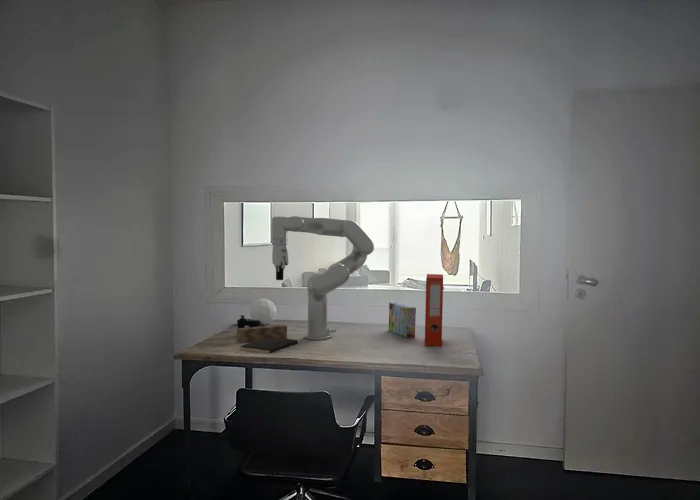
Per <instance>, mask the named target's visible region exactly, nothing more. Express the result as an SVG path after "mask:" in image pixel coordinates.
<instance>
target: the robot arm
mask: <svg viewBox="0 0 700 500" xmlns="http://www.w3.org/2000/svg"><path fill="white" fill-rule="evenodd" d="M288 232H293V233H294V232H296V233H297V232H298V233H299V232H300V233H306V234H307V233H309V234H314V235H318V236H326V237H327V236H328V237H329V236H330V237H338V238H339V237H340V238H347V240H348V241H349V242H350V243H351V244H352V251H351V253H349V255H347V256H346V257H343V258H342V259H340V260H338V261H337V262H335V263H333V264H331V265H330V266H329V267H328V268H327V270H326V271H325V272H323V273H314V274H312V275H310V276H309V278H308V279H307V285H306V290H307V333H306V334H305V335H304V339H308V340H313V341H314V340H315V341H317V340H318V341H321V340H322V341H323V340H327V339H330V338H331V334H332V333H333V334H334V333H335V334H336V333H337V329H336V328H330V327H328V294H329V293H331V292H333V291H334V290H336V289H338V288H339V287H341V286H343V285H344V284H345V283H347V282H348V281H349V279H350V276H351V274H353V273H355V272H357V271H358V270H359V269H361V267H363V266H364V264H365V263H366V261H367V259H368V255H371V254H372V253H374V250H375V243H374V241H373V239H372V238H371V237H370V236H369V235H368V234H367V233H366V232H365V230H363V228H362V227H361V226H360V225H359V224H358V223H357V222H356V221H355V220H349V219H339V218H338V219H337V218H327V217H304V216H296V215H295V216H294V215H293V216H289V217H288V216H287V217H286V216H273V217H272V218H271V246H272V254H271V255H272V256H271V257H272V258H271V260H272V261H271V262H272V264H273V265H274V267H275V280H276V281H284V271H285V269H286V266H288V265H289V251H288Z"/></svg>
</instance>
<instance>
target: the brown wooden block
mask: <svg viewBox="0 0 700 500" xmlns="http://www.w3.org/2000/svg"><path fill="white" fill-rule="evenodd" d="M267 337H276V338H285V339H288V325H285V324H278V325H277V324H276V325H275V324H274V325H263V326H257V327H251V328H250V327H244V328H239V329H238V328H236V341H237V343H239V344H240V343H252V342H255V341H258V340H261V339H264V338H267ZM251 341H252V342H251Z"/></svg>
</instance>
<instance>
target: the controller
mask: <svg viewBox="0 0 700 500" xmlns="http://www.w3.org/2000/svg"><path fill="white" fill-rule="evenodd" d="M236 324H237V325H236V326H237V329H239V328H246V326H247V327H248V328H251V327H260V326H261V325H262V324H261V322H260V320H252V319H250V318H248V319H247V318H245V315H240V318H239V319H237V320H236Z"/></svg>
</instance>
